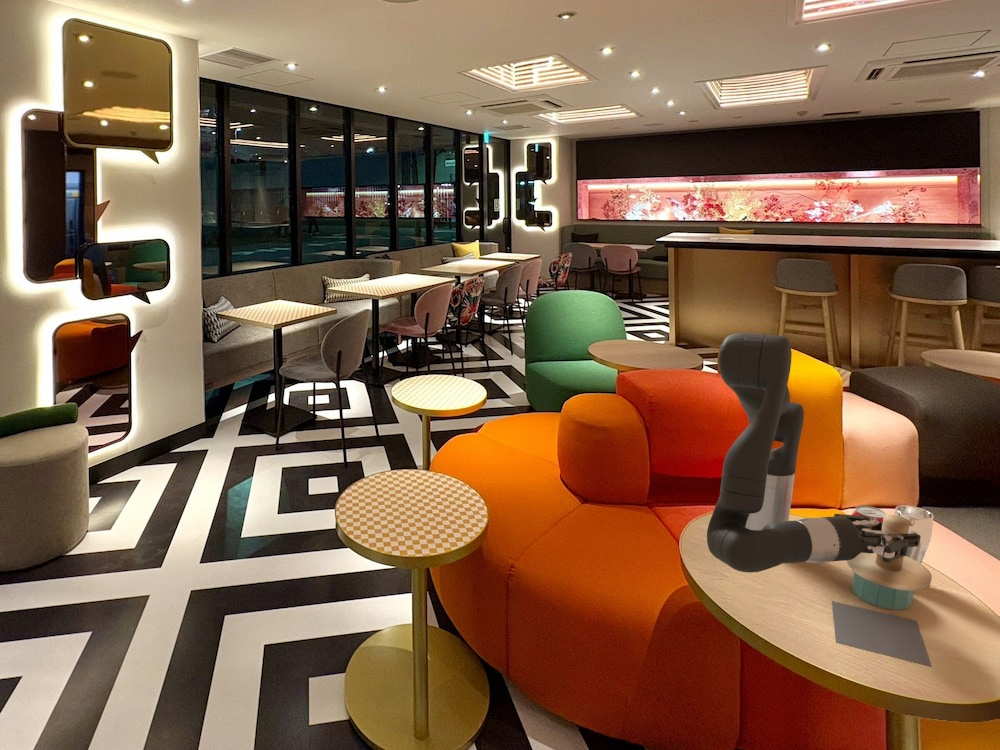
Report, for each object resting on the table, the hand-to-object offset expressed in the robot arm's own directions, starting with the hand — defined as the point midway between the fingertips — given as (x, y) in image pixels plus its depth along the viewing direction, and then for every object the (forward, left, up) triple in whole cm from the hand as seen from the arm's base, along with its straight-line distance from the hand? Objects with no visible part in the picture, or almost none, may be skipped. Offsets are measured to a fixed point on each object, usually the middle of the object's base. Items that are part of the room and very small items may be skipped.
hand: (907, 533), depth 111 cm
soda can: (-3, +23, -18) cm, 29 cm away
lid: (-2, -2, -7) cm, 8 cm away
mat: (-3, -5, -18) cm, 19 cm away
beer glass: (+4, +19, -18) cm, 26 cm away
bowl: (-1, +9, -18) cm, 20 cm away
